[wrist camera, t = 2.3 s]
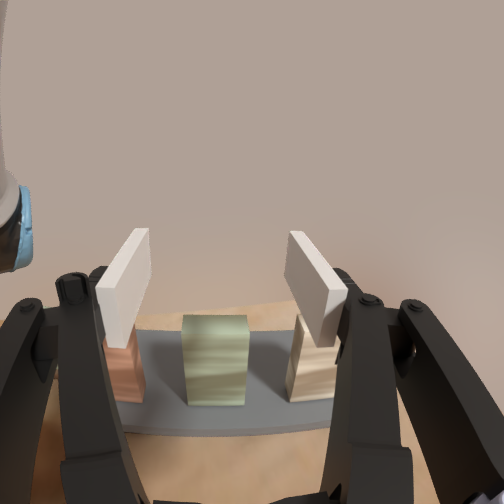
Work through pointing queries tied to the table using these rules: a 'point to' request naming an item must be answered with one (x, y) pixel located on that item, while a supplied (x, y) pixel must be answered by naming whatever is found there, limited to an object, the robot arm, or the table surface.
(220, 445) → the table surface
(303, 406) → the board
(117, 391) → the terracotta flap
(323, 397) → the cream flap
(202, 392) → the sage flap
